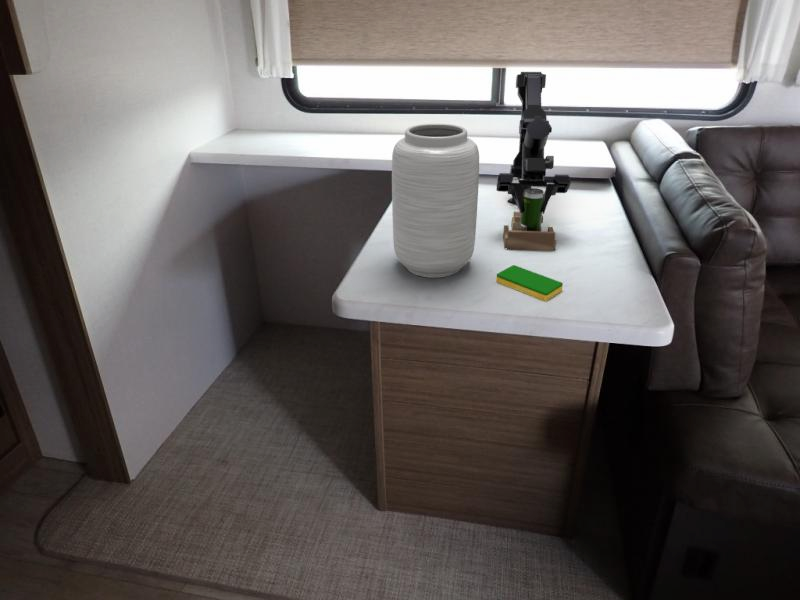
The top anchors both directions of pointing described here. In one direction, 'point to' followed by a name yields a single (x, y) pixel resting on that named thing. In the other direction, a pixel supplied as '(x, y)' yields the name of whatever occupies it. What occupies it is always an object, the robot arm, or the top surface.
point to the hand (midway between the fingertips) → (532, 212)
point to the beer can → (531, 209)
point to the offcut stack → (518, 221)
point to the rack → (529, 239)
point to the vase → (434, 199)
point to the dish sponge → (529, 282)
